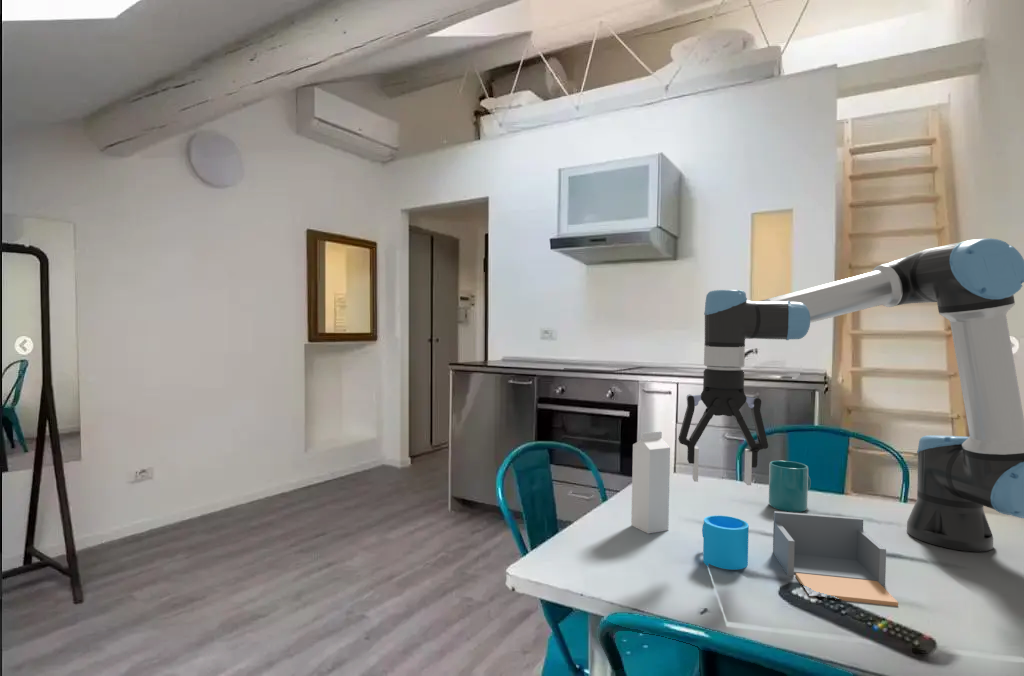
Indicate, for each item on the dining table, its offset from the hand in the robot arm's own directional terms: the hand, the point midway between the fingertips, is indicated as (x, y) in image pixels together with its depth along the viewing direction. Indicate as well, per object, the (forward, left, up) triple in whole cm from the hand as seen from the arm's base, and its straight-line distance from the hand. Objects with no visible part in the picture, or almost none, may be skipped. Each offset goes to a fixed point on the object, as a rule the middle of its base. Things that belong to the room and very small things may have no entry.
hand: (721, 481), depth 110 cm
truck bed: (-19, 0, -16) cm, 25 cm away
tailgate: (-19, +6, -15) cm, 25 cm away
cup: (-24, -41, -16) cm, 50 cm away
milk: (+13, -15, -16) cm, 25 cm away
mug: (0, 0, -16) cm, 16 cm away
